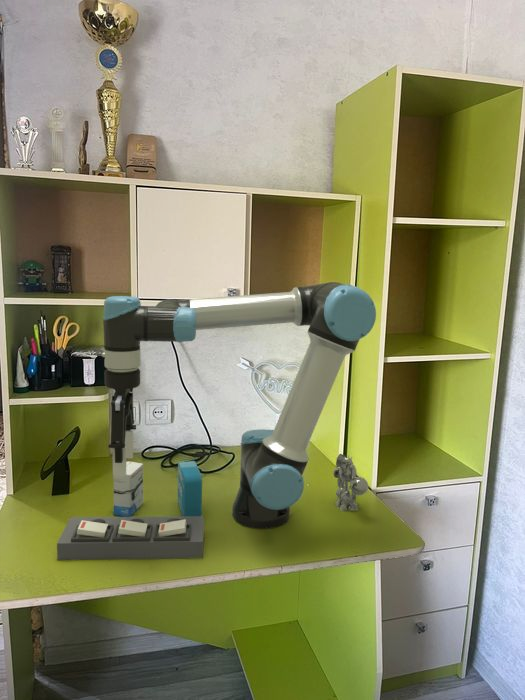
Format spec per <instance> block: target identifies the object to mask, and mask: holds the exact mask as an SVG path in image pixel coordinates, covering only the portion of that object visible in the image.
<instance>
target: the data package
mask: <svg viewBox="0 0 525 700" xmlns="http://www.w3.org/2000/svg"><path fill="white" fill-rule="evenodd" d="M202 476H203V475H202V474H201V472H200V469H199V467H198V465H197V463H196V461H195V460H191V461H189V460H188V461H180V462H178V463H177V503H178V506H179V510H180V511H181V512H180V513H181V515H182V516H203V515H202V512H203V511H202V510H203V507H202V506H203V505H202V504H203V503H202V502H203V477H202Z"/></svg>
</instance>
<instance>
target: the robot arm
mask: <svg viewBox="0 0 525 700" xmlns="http://www.w3.org/2000/svg"><path fill="white" fill-rule="evenodd" d="M141 304H142V303H141V300H140V298H139V297H137V296H130V295H129V296H128V295H112V296H109V297H106V299H105V300H104V302H103V318H102V320H103V348H104V349H103V350H104V351H103V352H101V357H102V358H104V368H105V370H104V371H103V373H104V386H105V387H106V388H108V389H112V390H114V394H113V395H112V396H111V402H110V404H111V422H110V425H111V428H110V444H108V449H112V477H113V476H126V462H127V459H133V458H134V431H133V430H137V424H134V423H135V417H134V414H135V413H134V389H136V388H138V387H139V386H140V384H141V369H139V367H141V342H172V343H173V342H176V343H183V342H185V343H186V342H193V341H195V339H196V336H197V331H199V330H201V331H202V330H213V329H214V330H215V329H225V328H236V327H238V328H239V327H250V326H251V327H252V326H263V325H275V324H289V323H292V324H294V325H295V326H296V327H301V326H302V327H303V326H309V327H308V330H307V334H308V337H309V341H310V342H309V344H308V346H307V349H306V352H305V354H304V357H303V359H302V361H301V364H300V366H299V369H298V371H297V374H296V376H295V378H294V381H293V383H292V385H291V388H290V390H289V393H288V395H287V398H286V400H285V403H284V405H283V407H282V409H281V411H280V415H279V416H278V419H277V422H276V425H275V426H274V429H264V428H262V429H251V430H247V431H245V432H244V433H243V434H242V435H241V440H240V447H241V448H240V472H239V473H240V474H239V481H240V482H239V488H238V490H237V493H236V496H235V499H234V502H233V505H232V517H233V519H234V520H235V521H236V522H237V523H238V524H239V525H241V526H244V527H246V528H247V527H248V528H252V529H259V530H262V529H263V530H264V529H265V530H267V529H273V528H278V527H280V526H281V527H282V526H283V525H285V524H286V523H287V522H288V521H289V519H290V515H291V513H290V511H291V510H290V507H292V506H293V505H294V504H296V503H297V502H298V501H299V500H300V498H301V497H302V495H303V493H304V488H305V487H304V485H305V481H304V477H303V474H304V472H305V469H306V467H307V465H308V462H309V460H310V458H309V454H308V453H307V448H308V445H309V442H310V440H311V438H312V435H313V433H314V431H315V429H316V426H317V423H318V422H319V419H320V416H321V414H322V412H323V410H324V407H325V405H326V402H327V400H328V397H329V396H330V392H331V390H332V388H333V386H334V383H335V382H336V379H337V377H338V374H339V371H340V369H341V367H342V364H343V362H344V359H345V357H347V355H349V354H352V353H354V352H355V351H356V349H357V346H358V344H359V342H360V340H362V339H363V338H365V337H366V336H367V335H368V334H369V333H370V332H371V331H372V329H373V327H374V326H375V323H376V320H377V310H376V309H377V308H376V305H375V302H374V300H373V299H372V297H371V296H370V295H369V294H368V293H367V292H366V291H365V290H363V289H361V288H359V287H358V286H355V285H352V284H348V283H347V284H346V283H341V282H336V281H330V282H323V283H319V284H313V285H306V286H296V287H293V288H292V290H291V291H288V292H287V291H285V292H273V293H271V292H270V293H259V294H258V293H257V294H245V295H231V296H230V295H229V296H219V297H218V296H217V297H215V296H214V297H206V298H205V297H204V298H192V299H191V298H190V299H179V300H175V299H164V300H161V301H159V302H158V303H157V304H156V305H155V306H145V305H144V306H143V305H141Z"/></svg>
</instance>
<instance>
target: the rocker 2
mask: <svg viewBox="0 0 525 700" xmlns="http://www.w3.org/2000/svg"><path fill="white" fill-rule="evenodd" d="M186 525H187V524H186V519H184V520H178V521H173V522H167V523H161V524H160V527H159V532H158V533H159V537H163V536H169V535H175V534H181V533H186Z"/></svg>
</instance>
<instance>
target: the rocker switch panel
mask: <svg viewBox="0 0 525 700" xmlns="http://www.w3.org/2000/svg"><path fill="white" fill-rule="evenodd" d="M184 519H186V524H187V525H186V533H181V534H175V535H169V536H163V537H159V533H158V532H159V527H160V524H161V523H167V522H173V521H178V520H184ZM204 519H205V517H204V515H202V516H181V515H179V516H176V515H175V516H174V515H172V516H170V515H169V516H168V515H167V516H131V517H126V516H90V517H89V516H73V517H70V518H69V519H68V522H67V523H66V525H65V527H64V529H63V531H62V533H61V535H60V537H59V539H58V541H57V543H56V552H57V553H56V556H57V557H56V558H57V561H79V560H80V561H81V560H82V561H83V560H84V561H85V560H87V561H88V560H89V561H90V560H95V561H96V560H145V559H147V560H149V559H150V560H152V559H156V560H157V559H158V560H159V559H202V558H203V557H204V555H203V554H204V531H205V530H204V529H205V527H204V526H205V525H204V524H205V523H204V521H205V520H204ZM82 520H84V521H91V522H97V523H104V524H108V527H107V531H106V534H105V536H104V537H103V538H102V537H95V536H88V535H81V534H77V529H78V527H79V525H80V523H81V521H82ZM121 520H126V521H133V522H139V523H146V524H147V529H146V533H145V537H139V536H132V535H126V534H119V533H118V530H119V526H120V523H121Z"/></svg>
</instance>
